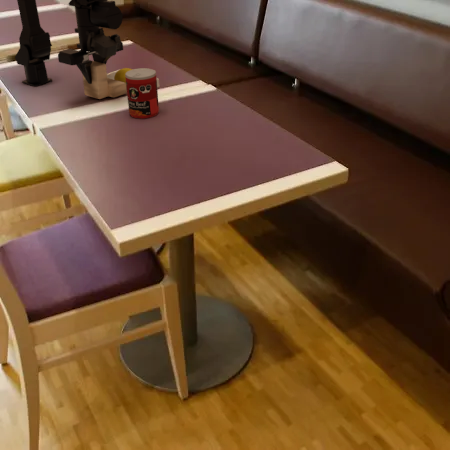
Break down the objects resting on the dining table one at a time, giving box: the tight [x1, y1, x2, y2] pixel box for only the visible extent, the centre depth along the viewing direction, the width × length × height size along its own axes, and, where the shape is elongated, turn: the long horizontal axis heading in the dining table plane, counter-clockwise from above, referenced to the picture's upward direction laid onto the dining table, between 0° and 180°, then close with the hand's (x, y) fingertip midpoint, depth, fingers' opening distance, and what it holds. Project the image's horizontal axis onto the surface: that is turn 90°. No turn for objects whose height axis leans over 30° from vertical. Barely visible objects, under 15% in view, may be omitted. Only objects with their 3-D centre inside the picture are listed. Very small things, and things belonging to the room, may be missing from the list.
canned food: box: [125, 67, 160, 119], centre depth 159 cm, size 8×8×11 cm
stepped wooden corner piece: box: [82, 60, 127, 100], centre depth 172 cm, size 10×8×9 cm
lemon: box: [114, 67, 133, 83], centre depth 179 cm, size 6×6×8 cm
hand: (95, 81), depth 171 cm, fingers closed on stepped wooden corner piece, 4 cm apart
